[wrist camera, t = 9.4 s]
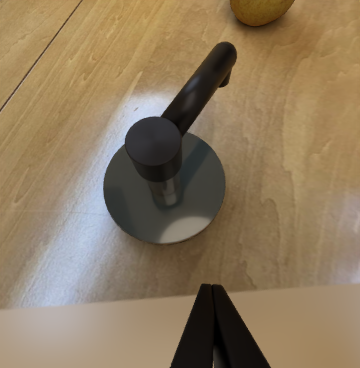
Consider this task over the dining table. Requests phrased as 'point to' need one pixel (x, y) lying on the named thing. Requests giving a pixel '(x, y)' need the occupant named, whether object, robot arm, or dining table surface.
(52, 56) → the dining table surface
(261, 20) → the fruit
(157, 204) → the faucet base
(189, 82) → the spout
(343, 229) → the dining table surface
